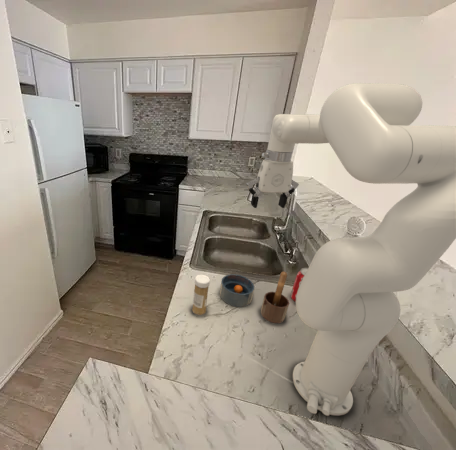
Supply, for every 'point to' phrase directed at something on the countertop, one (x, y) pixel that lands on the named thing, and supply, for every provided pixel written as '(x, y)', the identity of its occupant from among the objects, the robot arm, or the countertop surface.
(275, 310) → the pot
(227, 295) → the bowl
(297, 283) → the soda can
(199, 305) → the sprinkles bottle
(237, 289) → the orange ball
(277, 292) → the cooking stick
